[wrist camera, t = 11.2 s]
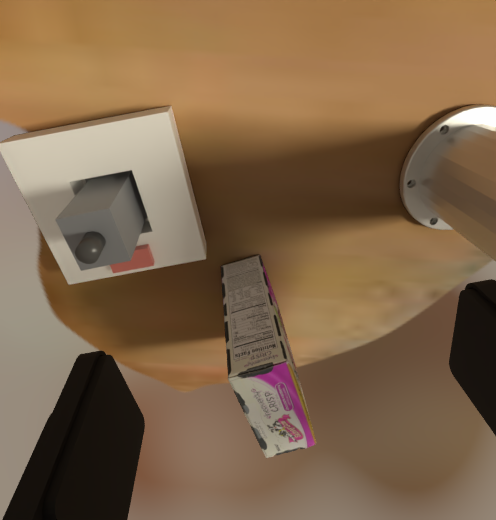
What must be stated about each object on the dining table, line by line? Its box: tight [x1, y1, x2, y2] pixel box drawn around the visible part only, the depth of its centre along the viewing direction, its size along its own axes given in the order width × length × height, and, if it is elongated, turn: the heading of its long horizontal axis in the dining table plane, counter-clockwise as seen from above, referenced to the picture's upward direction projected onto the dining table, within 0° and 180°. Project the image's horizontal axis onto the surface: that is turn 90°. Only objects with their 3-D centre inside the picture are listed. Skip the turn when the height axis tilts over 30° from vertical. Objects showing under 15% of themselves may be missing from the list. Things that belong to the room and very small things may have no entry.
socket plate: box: [0, 106, 206, 285], centre depth 34 cm, size 14×14×4 cm
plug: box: [55, 170, 147, 271], centre depth 30 cm, size 4×4×11 cm
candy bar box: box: [221, 255, 316, 458], centre depth 36 cm, size 11×5×16 cm, turn 17°
